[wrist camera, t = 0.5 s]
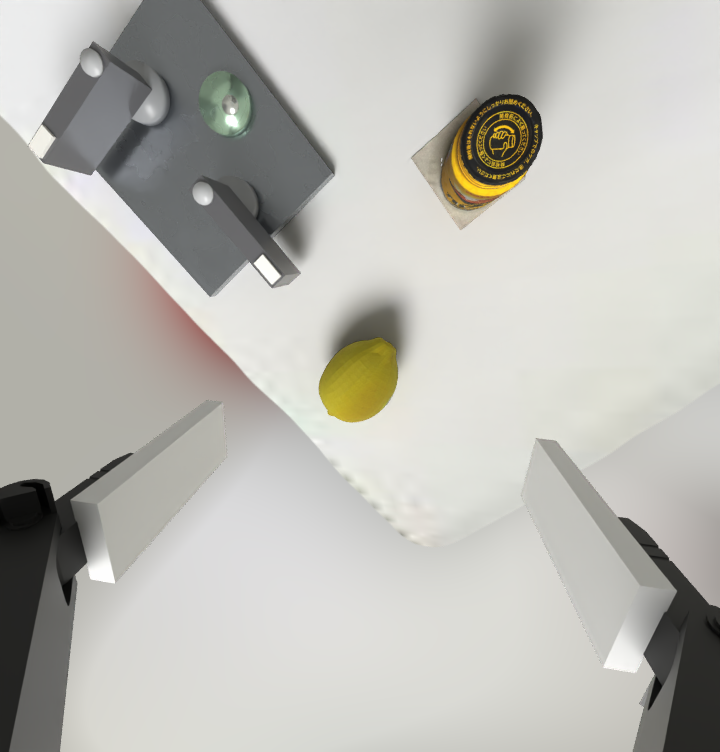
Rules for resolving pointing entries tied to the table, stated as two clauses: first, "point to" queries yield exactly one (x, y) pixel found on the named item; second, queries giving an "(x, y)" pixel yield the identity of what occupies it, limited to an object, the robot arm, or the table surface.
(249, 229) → the grey lever handle
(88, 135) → the grey lever handle
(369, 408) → the lemon
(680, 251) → the table surface
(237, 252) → the plate
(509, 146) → the condiment
